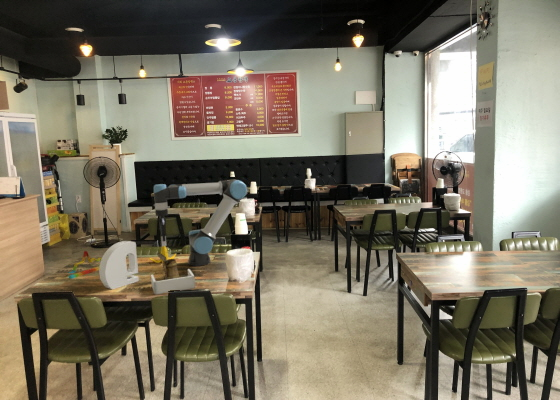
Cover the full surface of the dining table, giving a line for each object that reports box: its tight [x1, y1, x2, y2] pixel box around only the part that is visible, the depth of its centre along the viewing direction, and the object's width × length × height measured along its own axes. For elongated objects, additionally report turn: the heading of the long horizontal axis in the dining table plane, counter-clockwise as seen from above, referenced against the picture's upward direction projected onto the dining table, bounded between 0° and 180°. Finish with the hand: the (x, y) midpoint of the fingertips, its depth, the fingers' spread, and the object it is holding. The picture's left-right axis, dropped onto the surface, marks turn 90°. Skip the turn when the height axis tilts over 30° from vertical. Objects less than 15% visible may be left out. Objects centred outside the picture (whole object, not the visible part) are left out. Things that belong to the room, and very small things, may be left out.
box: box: [150, 268, 196, 295], centre depth 244 cm, size 22×15×7 cm
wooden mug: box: [157, 252, 180, 280], centre depth 259 cm, size 9×14×18 cm, turn 146°
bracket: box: [98, 240, 140, 290], centre depth 251 cm, size 7×21×25 cm, turn 142°
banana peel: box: [149, 245, 177, 264], centre depth 298 cm, size 17×19×17 cm
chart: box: [68, 250, 102, 280], centre depth 281 cm, size 30×3×15 cm, turn 151°
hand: (164, 245), depth 269 cm, fingers closed
